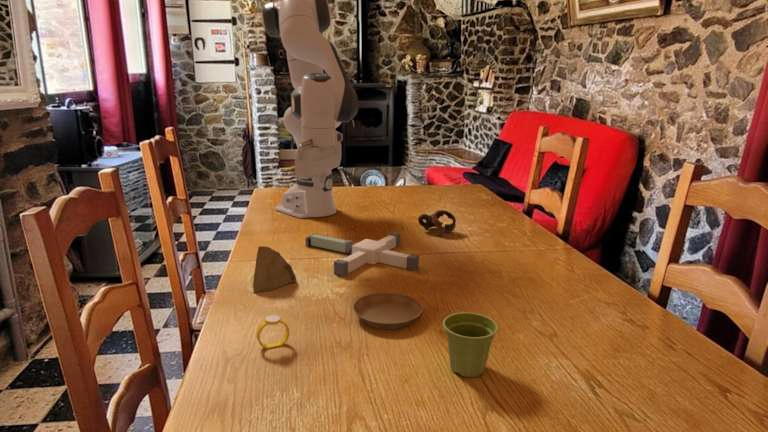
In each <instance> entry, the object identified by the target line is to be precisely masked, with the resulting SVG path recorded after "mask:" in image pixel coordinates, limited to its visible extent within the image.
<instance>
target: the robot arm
mask: <svg viewBox="0 0 768 432" xmlns="http://www.w3.org/2000/svg"><path fill="white" fill-rule="evenodd" d="M332 18H333V12H332V8H331V5H330V4H329V2H328V0H279V1H276V2H274V1H271V2H267V3H266V4H264V5H263V7H262V8H261V13H260V22H261V25H262V28H263V30H264V31H265V32H266V35H268V36H269V37H271V38H280V40H281V43H282V46H283V48H284V50H285V51H286V58H287V65H288V71H289V77H290V82H291V85H292V87H293V88H294V89H293V90H292V92H290V106H289V107H288V108H287V109H286V110H285V112H284V114H283V125H284V128H285V129H286V131H287V132H288V133H289V134H290V135H292V137H293V140H294V142H295V144H296V147H297V149H296V151H295V154H294V155H295V157H294V159H295V160H294V175H293V176H294V177H293V179H296V181H295V183H294V184H293V185H292V186H290V187H289V188H288V189H287V190H286V191H285V192H283V195H282V199H281V204H279V205H277V206H275V211H278V212H279V213H283V214H286V215H290V216H293V217H296V218H300V219H304V218H305V219H306V218H321V217H322V218H323V217H328V216H332V215H335V214H336V213H337V208H336V206H335V202H334V201H335V200H334V195H333V183H334V180H333V179H334V178H333V172H332V170H333V169H335V168H338V167H340V165H341V162H342V143H341V142H342V141H343V138H344V137H343V133H341V131H337V130H336V129H337V128H338V127H340V126H341V124H342V123H349V122H350V121H351V120H352V119H354V118H355V116H356V115H357V114H358V111H359V99H358V95H357V93H356V90H355V89H354V87H353V86H352V84H351V83H350V80H349V77H348V76H347V72H346V70H345V68H344V66H343V64H342V60H341V59H340V56H339V53H338V51H337V50H336V47H335V46H334V44H333V43H332V42H331V41H329V40H328V39H326V37H325V36H324V35H323V33H325V32H326V31H327V30H328V29H329V28H330V26H331V22H332V20H333V19H332ZM324 70H325V72H326V73H327V74H326V73H324Z"/></svg>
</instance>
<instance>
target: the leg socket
mask: <svg viewBox="0 0 768 432" xmlns="http://www.w3.org/2000/svg"><path fill="white" fill-rule="evenodd" d="M314 234H315V233H313V234H311V235H308V236H306V237H305V247H307V248H308V247H312V245H311V236H312V235H314ZM317 234H318V235H323V236H326V235H325V234H320V233H317Z"/></svg>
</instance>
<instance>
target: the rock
mask: <svg viewBox="0 0 768 432" xmlns="http://www.w3.org/2000/svg"><path fill="white" fill-rule="evenodd" d="M257 248H258V249H257V252H256V258H255V266H254V275H253V283H252V289H253V290H252V291H253V294H256V293H261V292H267V291H272V290H275V289H278V288H281V287H284V286H286V285H289V284H291V283H295V282H297V281H298V280H297V276H296V274H295V272H294V270H293V268H292V265H291V264H290V263H288V262H287V261H286V260H285V258H284V257H283V256H282V254H281V253H280V252H279V251H276V250H274V249H272V248H271V247H269V246H263V245H262V246H258V247H257Z"/></svg>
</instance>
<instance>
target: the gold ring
mask: <svg viewBox="0 0 768 432" xmlns="http://www.w3.org/2000/svg"><path fill="white" fill-rule="evenodd" d="M278 324H283V326H284V327H285V334H284V335H283V337H282V338H281V339H280V341H277V342H272V343H268V344H266V343H264V342H262V340H261V333H262V331H263V329H264V328H265V327H267V326H268V325H270V326H274V325H275V326H276V325H278ZM290 334H291V333H290V327H289V325H288V324H287V322H286V321H285V320H284V319H282V318H281V317H280V316H278V315H276V314H271V315H268V316H265V318H264V320H263V321H262V322H261V323H260V324H259V326H258V327H257V329H256V336H255V337H256V340H257V341H258V344H259V346H261V348H264V349H265V350H269V349H274V348H279V347H283V346H284V345H285V344H286V343H287V341H288V339H289V337H290Z"/></svg>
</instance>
